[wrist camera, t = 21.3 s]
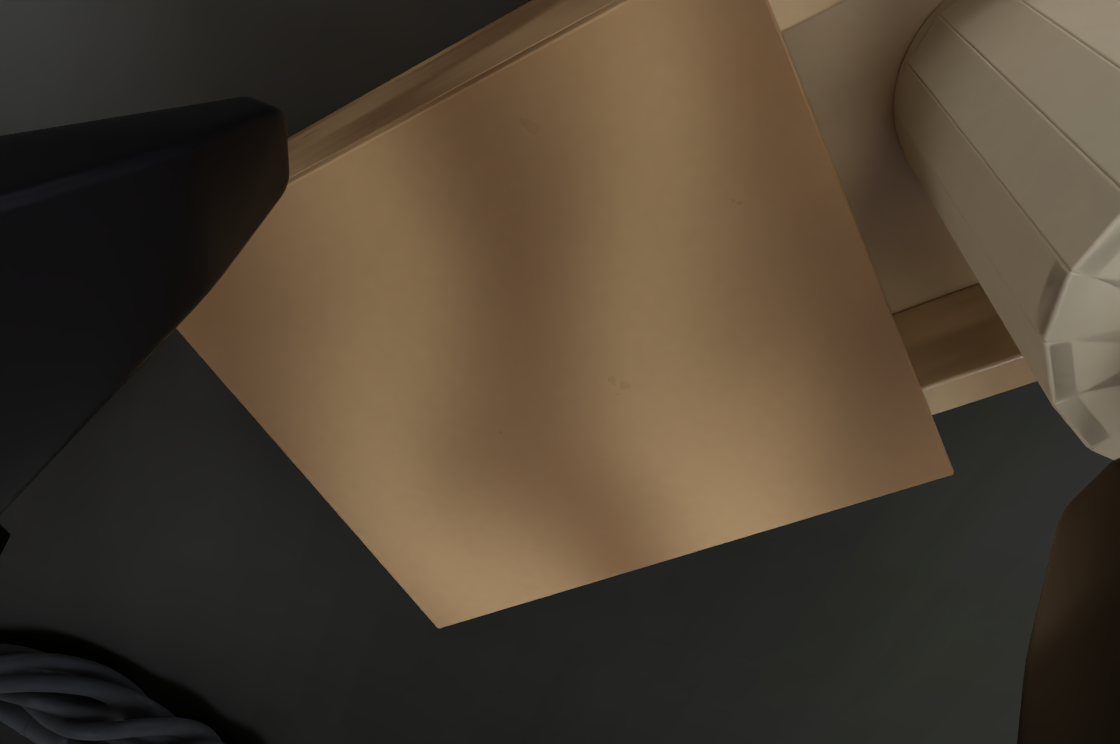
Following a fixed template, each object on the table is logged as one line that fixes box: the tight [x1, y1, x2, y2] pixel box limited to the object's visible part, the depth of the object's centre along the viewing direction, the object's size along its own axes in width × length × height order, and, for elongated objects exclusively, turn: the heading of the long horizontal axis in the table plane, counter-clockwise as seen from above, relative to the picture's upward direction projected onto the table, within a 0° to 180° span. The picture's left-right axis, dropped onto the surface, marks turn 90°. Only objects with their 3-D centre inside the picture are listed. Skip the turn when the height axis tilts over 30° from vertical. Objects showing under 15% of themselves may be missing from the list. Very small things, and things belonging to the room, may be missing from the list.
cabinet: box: [176, 0, 954, 628], centre depth 20 cm, size 13×12×6 cm
